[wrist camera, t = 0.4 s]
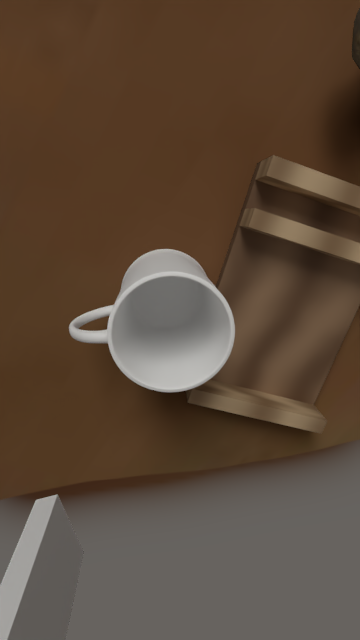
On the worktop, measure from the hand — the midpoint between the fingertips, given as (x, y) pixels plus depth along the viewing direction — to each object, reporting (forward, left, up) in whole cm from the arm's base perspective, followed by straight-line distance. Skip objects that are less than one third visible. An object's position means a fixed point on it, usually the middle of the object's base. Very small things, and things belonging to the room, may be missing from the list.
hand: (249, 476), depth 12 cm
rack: (+9, +3, -22) cm, 24 cm away
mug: (-4, 0, -22) cm, 23 cm away
